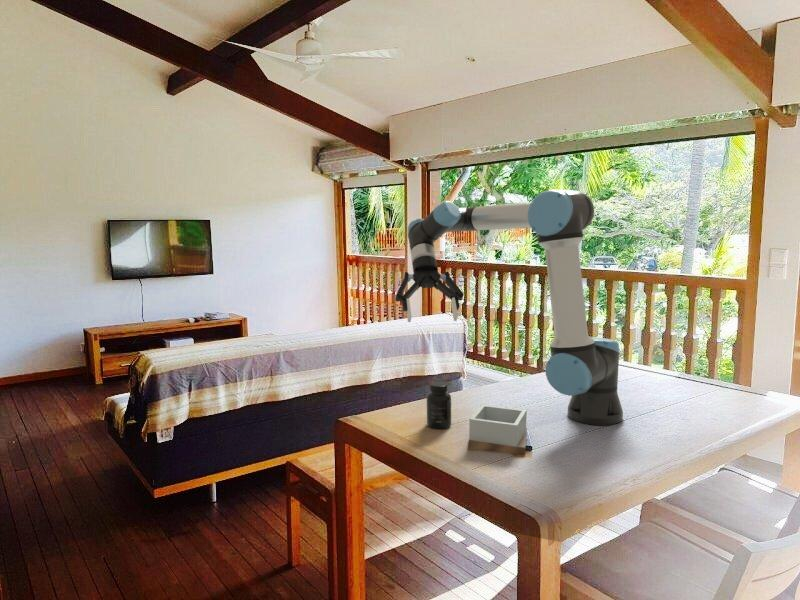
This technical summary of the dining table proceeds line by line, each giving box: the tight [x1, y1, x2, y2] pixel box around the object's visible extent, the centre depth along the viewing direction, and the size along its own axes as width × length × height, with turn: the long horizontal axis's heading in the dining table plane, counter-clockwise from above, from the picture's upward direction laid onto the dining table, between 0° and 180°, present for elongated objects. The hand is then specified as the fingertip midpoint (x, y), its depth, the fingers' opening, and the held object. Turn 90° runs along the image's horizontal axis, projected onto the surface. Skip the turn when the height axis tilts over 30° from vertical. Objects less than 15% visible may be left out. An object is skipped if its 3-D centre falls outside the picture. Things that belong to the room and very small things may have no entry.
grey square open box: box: [468, 404, 527, 447], centre depth 153 cm, size 12×12×6 cm
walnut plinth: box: [467, 427, 528, 455], centre depth 154 cm, size 14×14×2 cm
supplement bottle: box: [426, 381, 452, 430], centre depth 165 cm, size 7×7×12 cm
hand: (432, 319), depth 172 cm, fingers open, 13 cm apart
